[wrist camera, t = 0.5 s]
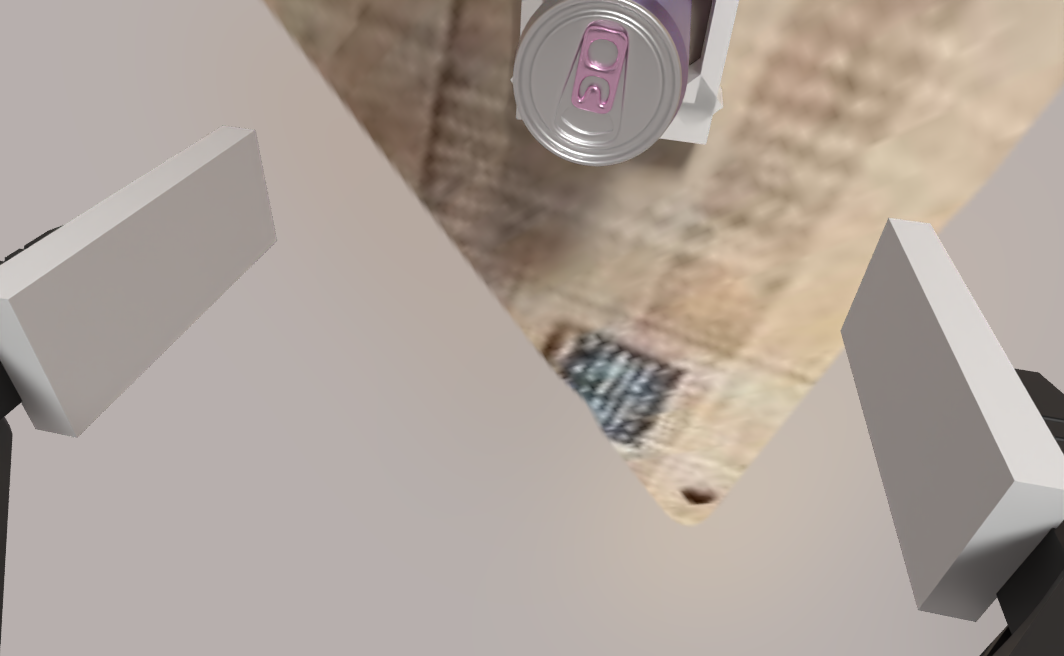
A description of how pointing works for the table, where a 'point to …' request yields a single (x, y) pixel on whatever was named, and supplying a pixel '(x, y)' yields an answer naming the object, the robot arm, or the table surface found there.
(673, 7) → the beverage can
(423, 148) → the table surface
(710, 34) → the strip dock
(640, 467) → the table surface
